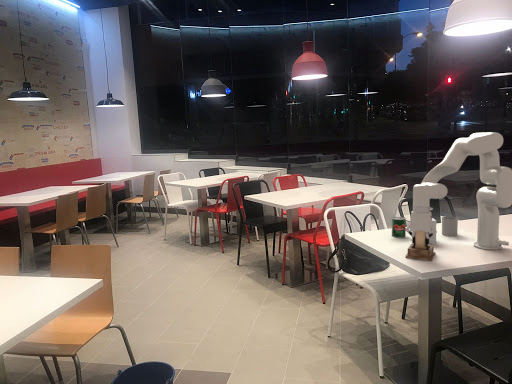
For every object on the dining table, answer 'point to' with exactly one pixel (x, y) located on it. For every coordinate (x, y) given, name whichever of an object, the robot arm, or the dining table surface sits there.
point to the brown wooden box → (421, 253)
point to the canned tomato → (398, 227)
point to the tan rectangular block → (420, 240)
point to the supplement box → (432, 238)
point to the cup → (449, 226)
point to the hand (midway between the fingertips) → (420, 244)
